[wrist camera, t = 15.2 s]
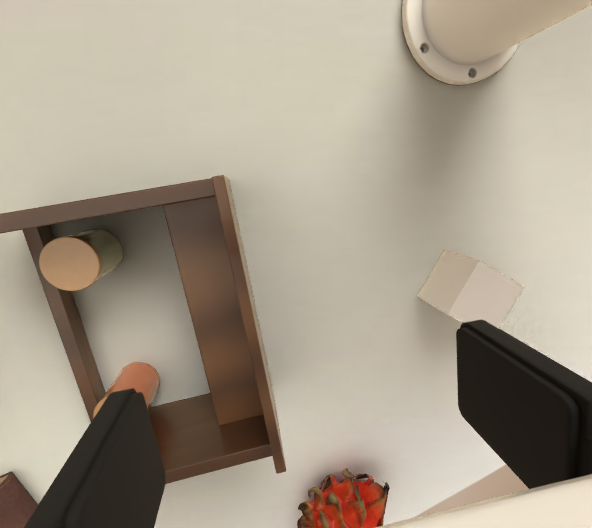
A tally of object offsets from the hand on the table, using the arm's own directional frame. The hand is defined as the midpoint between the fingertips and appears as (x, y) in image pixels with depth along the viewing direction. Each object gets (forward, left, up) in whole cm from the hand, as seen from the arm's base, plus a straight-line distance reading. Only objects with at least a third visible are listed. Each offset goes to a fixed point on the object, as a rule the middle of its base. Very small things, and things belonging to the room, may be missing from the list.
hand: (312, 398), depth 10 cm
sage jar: (-3, -15, -26) cm, 31 cm away
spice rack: (+4, -11, -26) cm, 29 cm away
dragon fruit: (+31, +3, -27) cm, 41 cm away
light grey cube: (+8, +20, -27) cm, 35 cm away
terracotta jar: (+11, -15, -26) cm, 32 cm away
